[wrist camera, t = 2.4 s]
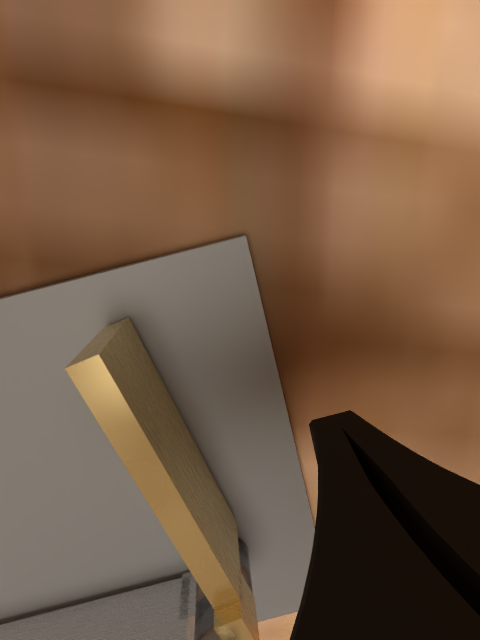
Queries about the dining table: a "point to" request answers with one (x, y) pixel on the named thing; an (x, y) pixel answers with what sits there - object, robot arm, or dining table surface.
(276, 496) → the board
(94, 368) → the swing leaf
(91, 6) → the dining table surface
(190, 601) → the fixed leaf
